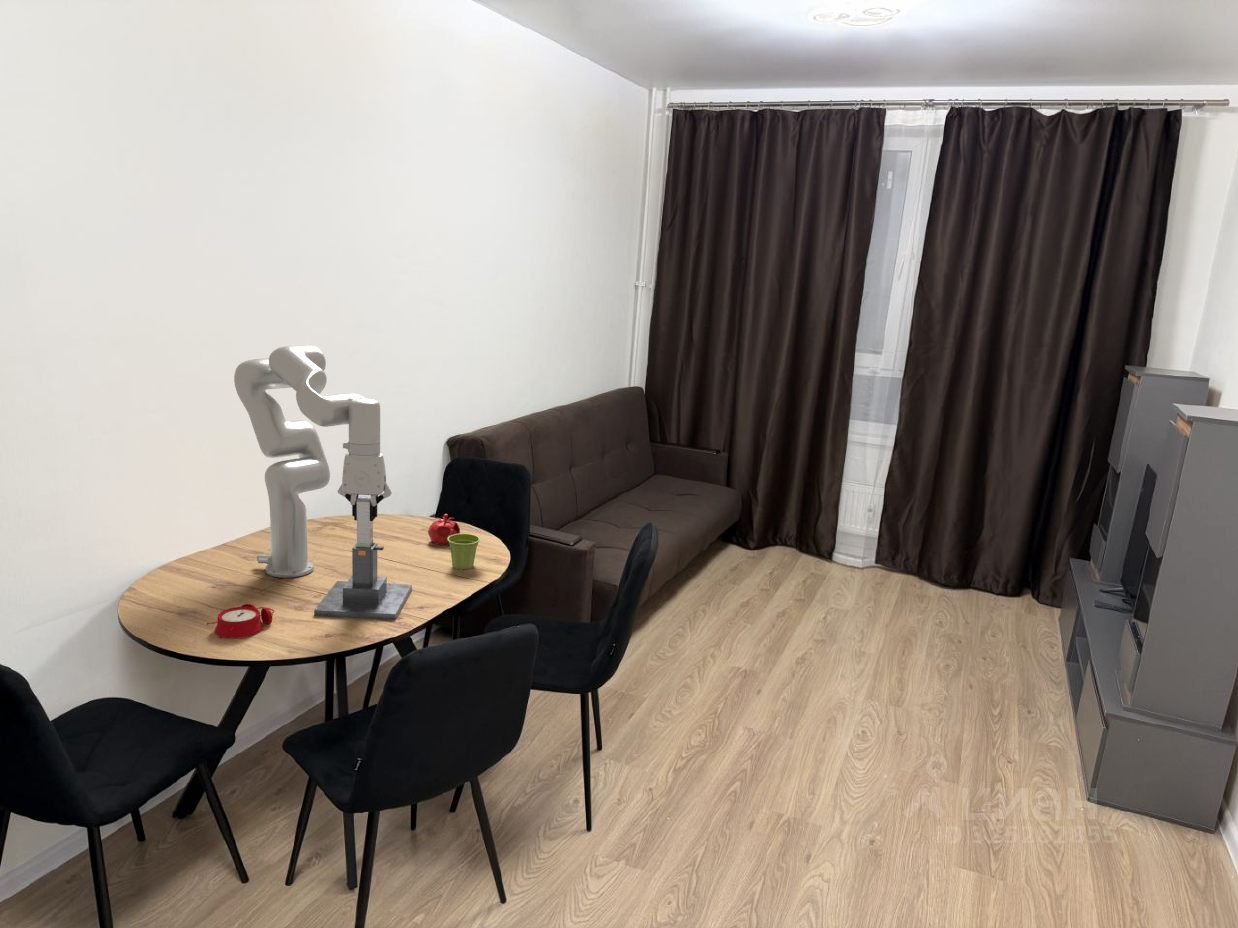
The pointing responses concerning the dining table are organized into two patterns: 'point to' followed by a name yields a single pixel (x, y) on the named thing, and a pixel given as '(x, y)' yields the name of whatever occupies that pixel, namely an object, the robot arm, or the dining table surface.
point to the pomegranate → (443, 530)
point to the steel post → (364, 523)
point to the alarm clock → (242, 621)
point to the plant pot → (463, 550)
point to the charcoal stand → (364, 591)
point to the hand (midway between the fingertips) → (364, 518)
